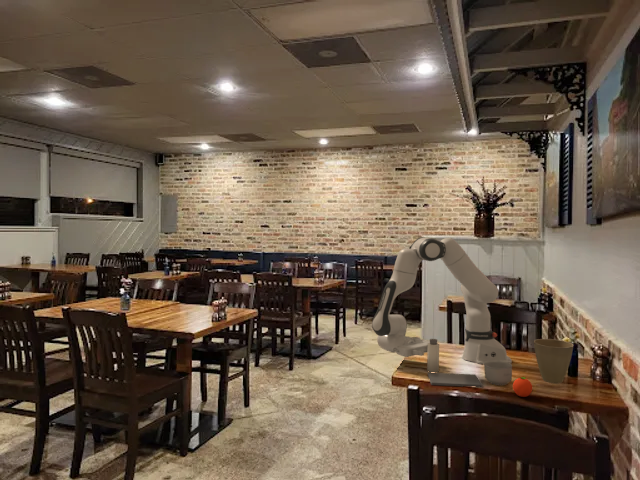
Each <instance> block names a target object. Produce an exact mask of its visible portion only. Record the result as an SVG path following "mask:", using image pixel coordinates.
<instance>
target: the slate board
mask: <svg viewBox="0 0 640 480" xmlns="http://www.w3.org/2000/svg"><path fill="white" fill-rule="evenodd" d="M427 378H428V380H429V379H430V380H429V383H430V385H431V386H442V387H443V386H445V387H463V386H476V387H475V388H483V386H484V385H483V383H482V382H481V381H480V379H479V377H478V376H477V375H476V373H475V374H474V373H473V374H472V373H471V374H469V373H448V372H447V373H446V372H437V373H431V372H428V371H427Z"/></svg>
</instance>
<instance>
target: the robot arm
mask: <svg viewBox="0 0 640 480" xmlns="http://www.w3.org/2000/svg"><path fill="white" fill-rule="evenodd" d="M438 259H439V260H441V261H442V262H443V263H444V265H445V266H446V268H447V269H448V270H449V271H450V273H451V274H452V275H453V277H454V278H455V279H456V280H457V281H459V283H460V284H461V285H460V290H461V293H462V295H463V300H464V301H463V302H464V307H465V311H466V312H465V313H466V314H465V315H466V317H465V318H466V323H465V325H466V326H465V329H464V340H465V343H464V348H463V353H462V355H461V358H462V359H463V360H465V361H469V362H473V363H475V364H476V363H477V364H479V365H484V363H486V362H489V361H497V360H499V361H502V362H507V363H510V364H512V363H513V362H512V358H511V357H510V356H508V355H507V350H506V348H505V346H503V345H502V343H500V341H498V340H496V339H495V338H497V336H498V333H496V332H494V331H492V330H491V313H490V310H489V308H488V304H490V303H493V302H495V301H496V300H497V299H498V296H499V289H498V287H497V285H495V283H494V282H492V281H491V280H490V279H489V278H488V277H487V276H486V274H484V272H482V270H480V268H478V267H477V266H476V264H475V263H474V262H473V261H472V259H471V258H470V257H469V255H468V254H467V252H466V251H465V250H464V249H463V248H462V246H461V245H460V244H459V243H458V242H457V241H456V240H455V239H454V238H452V237H445V238H442V239H441V240H437V239H435V238H432V237H428V236H426V237H425V236H422V237H418V238H417V239H416V240H414V241H413V243H412V244H411V245H410V246H409V247H408V248H402V249H400V250H399V251H398V253H397V256H396V260H395V262H394V266H393V272H392V274H391V276H390V279H389V281H388V282H387V283H385V284H386V285H385V286H384V287H383V292H382V294H381V297H380V301H379V304H378V307H377V310H376V313H375V315H374V316H373V318H372V322H371V328H372V330H373V332H374V333H375V334H376V336H377V338H376V340H377V341H376V342H377V344H378V346H379V347H380V348H381V349H383V350H385V351H386V352H390V353H396V354H397V355H399V356H401V357H403V358H409V357H413V356H420V357H422V356H425V353H426V354H427V351H428V343H430V340H426V339H421V337H418V336H406V334H407V328H408V322H407V319H406V318H405V316H403V315H402V314H393V313H392V314H390V313H391V311H392V308H393V305H394V302H395V299H396V298H397V296H398V295H400V294H402V293H403V292H406V291H408V290H410V289H412V288H413V286H414V284H415V283H416V278H417V273H418V268H419V266H420V263H421V262H422V261H425V262H426V261H427V262H434V261H437V260H438Z"/></svg>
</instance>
